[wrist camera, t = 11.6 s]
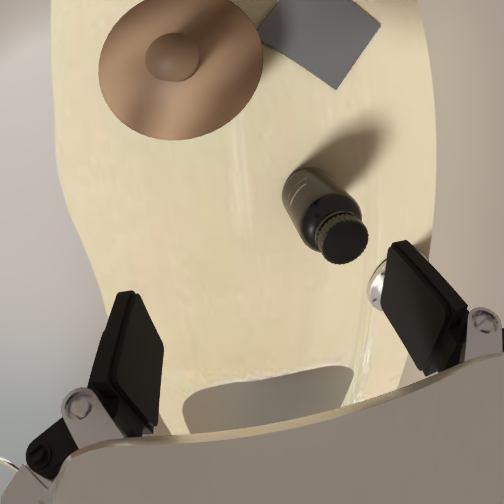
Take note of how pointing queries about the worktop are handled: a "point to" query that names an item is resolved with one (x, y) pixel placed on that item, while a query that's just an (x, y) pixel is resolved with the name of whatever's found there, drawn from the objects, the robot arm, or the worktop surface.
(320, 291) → the worktop surface
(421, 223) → the worktop surface
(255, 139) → the worktop surface
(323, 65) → the rubber mat
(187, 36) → the walnut lid
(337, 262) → the supplement bottle
